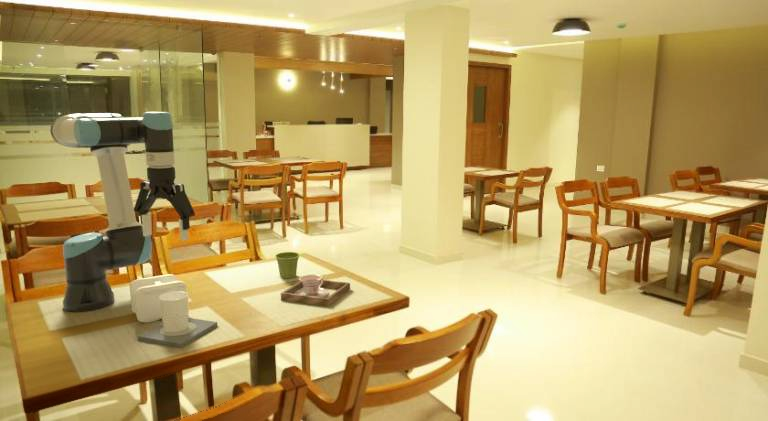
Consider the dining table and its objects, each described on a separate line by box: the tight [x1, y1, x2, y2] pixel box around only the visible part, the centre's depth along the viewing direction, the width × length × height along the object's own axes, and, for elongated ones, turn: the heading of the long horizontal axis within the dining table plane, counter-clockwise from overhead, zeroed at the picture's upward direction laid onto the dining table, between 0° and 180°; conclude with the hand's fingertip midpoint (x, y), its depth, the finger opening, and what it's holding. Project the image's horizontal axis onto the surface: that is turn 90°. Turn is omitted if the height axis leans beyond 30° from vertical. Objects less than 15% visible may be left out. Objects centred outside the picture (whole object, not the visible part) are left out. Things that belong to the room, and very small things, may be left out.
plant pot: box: [274, 251, 301, 280], centre depth 209 cm, size 9×9×9 cm
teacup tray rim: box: [280, 279, 351, 307], centre depth 189 cm, size 18×18×2 cm
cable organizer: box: [129, 273, 188, 323], centre depth 169 cm, size 15×11×12 cm
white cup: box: [159, 291, 190, 332], centre depth 156 cm, size 8×8×10 cm
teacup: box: [294, 274, 329, 298], centre depth 189 cm, size 12×12×6 cm
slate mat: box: [137, 317, 218, 349], centre depth 157 cm, size 15×16×1 cm
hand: (165, 237), depth 158 cm, fingers open, 13 cm apart
